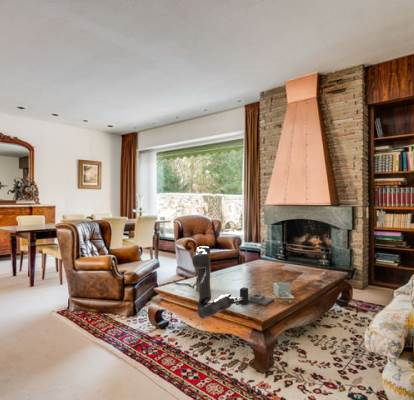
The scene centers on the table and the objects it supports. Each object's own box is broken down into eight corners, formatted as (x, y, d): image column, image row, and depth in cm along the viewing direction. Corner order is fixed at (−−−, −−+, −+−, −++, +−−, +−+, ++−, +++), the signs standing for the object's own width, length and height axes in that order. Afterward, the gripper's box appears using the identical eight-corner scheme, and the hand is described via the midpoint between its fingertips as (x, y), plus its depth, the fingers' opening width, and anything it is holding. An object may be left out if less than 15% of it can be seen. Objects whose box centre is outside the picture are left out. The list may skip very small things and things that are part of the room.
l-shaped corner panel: (278, 298, 218) (278, 287, 218) (273, 292, 230) (273, 282, 230) (295, 298, 218) (295, 287, 218) (289, 292, 230) (289, 282, 230)
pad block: (239, 303, 206) (239, 288, 206) (243, 301, 210) (243, 287, 210) (244, 304, 204) (244, 289, 204) (248, 303, 208) (248, 288, 208)
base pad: (240, 300, 213) (240, 295, 213) (250, 295, 224) (250, 290, 224) (264, 306, 202) (264, 301, 202) (273, 300, 213) (273, 295, 213)
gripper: (232, 299, 182) (246, 293, 194) (212, 294, 191) (226, 288, 204) (232, 312, 182) (246, 305, 195) (212, 306, 191) (226, 300, 204)
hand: (236, 296), depth 199 cm, fingers open, 8 cm apart
